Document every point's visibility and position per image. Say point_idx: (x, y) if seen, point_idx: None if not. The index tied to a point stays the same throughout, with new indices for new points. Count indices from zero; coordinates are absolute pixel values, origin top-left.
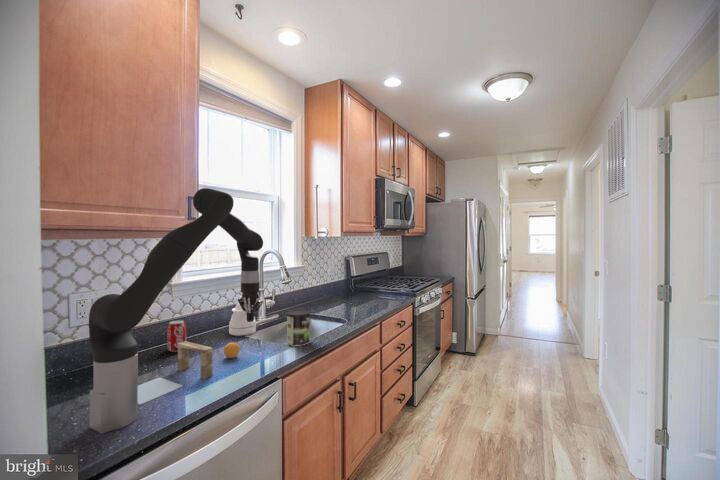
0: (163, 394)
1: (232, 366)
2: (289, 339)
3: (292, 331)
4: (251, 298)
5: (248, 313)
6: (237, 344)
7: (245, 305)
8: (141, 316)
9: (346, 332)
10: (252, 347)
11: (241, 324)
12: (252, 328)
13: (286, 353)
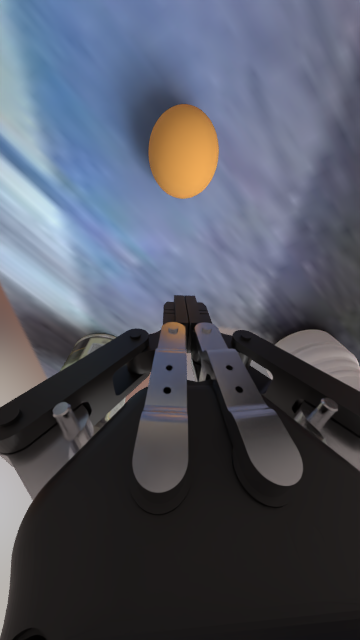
0: None
1: (94, 61)
2: (101, 345)
3: None
4: (129, 480)
5: (186, 322)
6: (166, 177)
7: (224, 361)
8: None
9: None
10: (189, 281)
11: (304, 359)
12: None
13: (58, 288)
